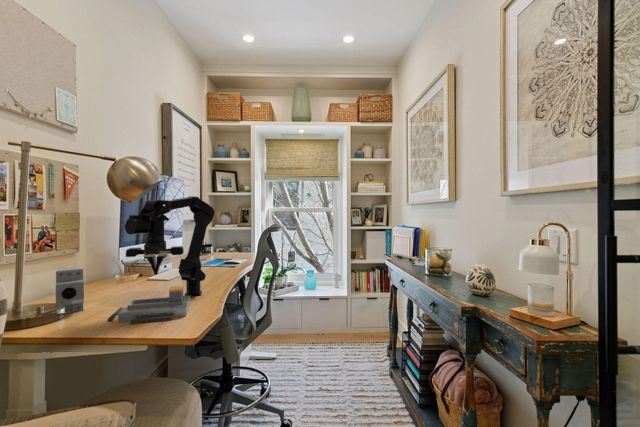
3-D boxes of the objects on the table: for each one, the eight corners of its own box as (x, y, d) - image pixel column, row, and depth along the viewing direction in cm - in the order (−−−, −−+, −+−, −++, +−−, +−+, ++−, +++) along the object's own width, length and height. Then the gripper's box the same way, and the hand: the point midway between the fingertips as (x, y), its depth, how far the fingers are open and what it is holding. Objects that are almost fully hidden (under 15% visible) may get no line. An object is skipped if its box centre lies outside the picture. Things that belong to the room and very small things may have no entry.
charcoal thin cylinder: (129, 324, 98) (129, 320, 98) (130, 323, 99) (130, 319, 99) (171, 320, 102) (171, 316, 102) (172, 319, 103) (172, 315, 103)
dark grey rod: (119, 310, 112) (119, 307, 112) (123, 310, 112) (123, 307, 112) (107, 321, 101) (107, 317, 101) (111, 321, 101) (111, 317, 101)
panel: (132, 308, 115) (132, 297, 115) (190, 303, 121) (190, 292, 121) (118, 322, 100) (118, 309, 100) (186, 315, 106) (185, 304, 106)
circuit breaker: (55, 319, 103) (55, 274, 103) (56, 309, 114) (56, 268, 114) (84, 314, 108) (83, 271, 108) (82, 305, 119) (82, 266, 119)
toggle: (171, 299, 114) (171, 286, 114) (183, 298, 115) (183, 286, 115) (169, 303, 109) (169, 290, 109) (181, 302, 110) (181, 289, 111)
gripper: (120, 234, 107) (121, 280, 107) (180, 233, 113) (180, 276, 113) (130, 233, 118) (130, 274, 118) (183, 232, 123) (183, 271, 123)
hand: (155, 274), depth 117 cm, fingers closed
